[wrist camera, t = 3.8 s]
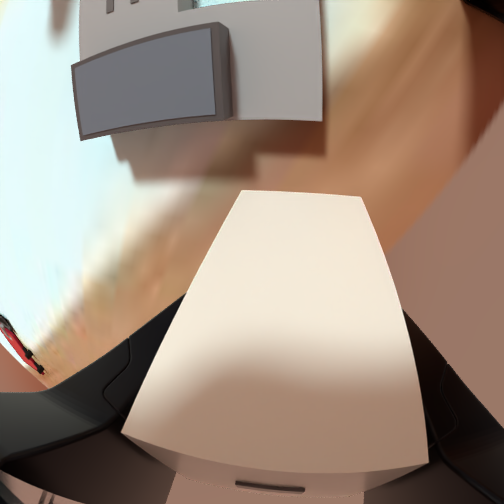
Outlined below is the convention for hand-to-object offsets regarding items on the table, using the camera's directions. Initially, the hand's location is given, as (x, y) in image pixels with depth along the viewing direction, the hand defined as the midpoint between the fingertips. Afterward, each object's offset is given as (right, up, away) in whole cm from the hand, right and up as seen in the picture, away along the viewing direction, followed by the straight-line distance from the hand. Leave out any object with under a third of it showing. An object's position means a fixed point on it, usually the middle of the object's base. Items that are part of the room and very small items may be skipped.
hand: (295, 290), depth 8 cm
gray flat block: (-7, +11, +6) cm, 15 cm away
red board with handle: (-72, -26, +49) cm, 91 cm away
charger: (0, +1, +2) cm, 3 cm away
